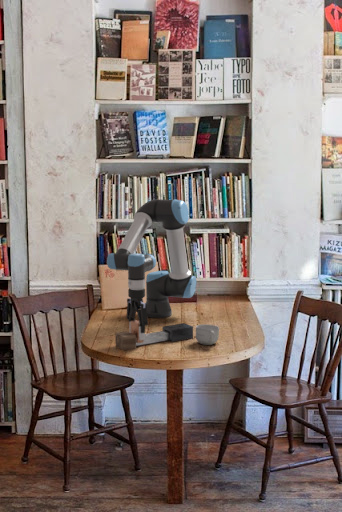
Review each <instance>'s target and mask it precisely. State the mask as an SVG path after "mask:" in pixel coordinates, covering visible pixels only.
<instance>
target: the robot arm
mask: <svg viewBox="0 0 342 512" xmlns="http://www.w3.org/2000/svg"><path fill="white" fill-rule="evenodd" d="M189 215H190V212H189V208H188V205H187V203H186V202H185V201H184V200H181V199H159V198H158V199H157V198H155V199H151V200H149V201H147V202H145V203H144V204H142V205H141V206H140V207H139V208H138V209H137V211H136V212H135V213H134V215H133V221H132V223H131V225H130V227H129V228H128V231H127V232H126V234H125V236H124V238H123V240H122V241H121V243H120V244H119V247H118V249H117V250H116V252H111V253H108V255H107V258H106V265H107V267H108V268H109V269H111V270H115V271H127V274H128V275H127V277H128V278H127V281H128V282H127V284H128V285H127V286H128V289H127V290H128V291H127V292H128V297H129V298H126V302H127V304H126V305H127V307H126V320H128V323H129V324H128V325H129V327H128V328H129V332H130V333H131V321H134V320H136V319H135V318H136V315H137V318H138V321H139V323H140V325H138V326H139V340H145V334H146V326H147V325H149V320H148V318H152V319H155V318H156V319H163V318H168V317H171V316H172V312H173V311H172V307H171V304H170V302H169V297H172V298H182V299H184V298H185V299H189V298H193V296H194V294H195V292H196V289H197V277H196V276H195V275H193V274H192V271H191V270H190V269H189V266H188V258H187V252H186V241H185V234H184V228H185V226H186V224H187V223H188V221H189V217H190V216H189ZM155 223H159V224H160V223H161V225H162V229H163V230H165V231H166V240H167V249H168V254H169V255H168V256H169V261H170V272H169V271H168V270H156V271H152V270H153V269H155V267H156V265H157V260H156V259H157V258H156V257H155V256H154V255H153V254H151V253H145V254H143V253H135V251H136V250H137V248H138V246H139V244H140V242H141V241H142V239H143V236H144V235H145V233H146V231H147V229H148V228H150V227H151V226H152V224H155ZM150 271H152V272H150ZM147 272H149V273H147ZM146 273H147V275H146ZM145 296H146V297H145ZM143 298H146V300H145V302H144V300H143Z"/></svg>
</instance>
